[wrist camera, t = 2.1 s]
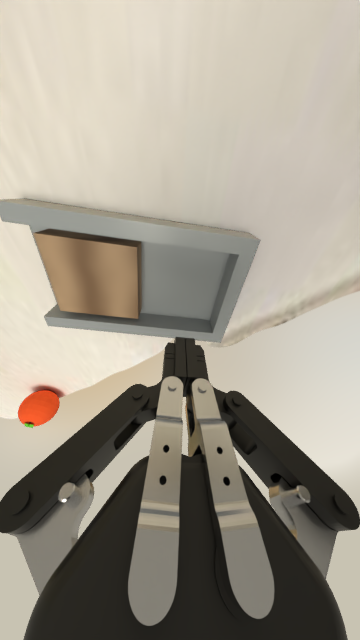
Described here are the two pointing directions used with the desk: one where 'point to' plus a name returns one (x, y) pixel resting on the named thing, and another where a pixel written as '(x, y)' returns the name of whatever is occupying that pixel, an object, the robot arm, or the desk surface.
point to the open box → (155, 269)
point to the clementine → (38, 408)
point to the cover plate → (93, 272)
